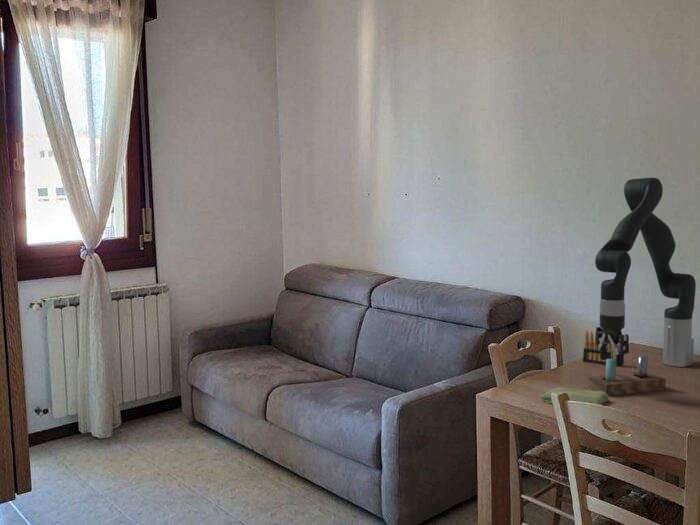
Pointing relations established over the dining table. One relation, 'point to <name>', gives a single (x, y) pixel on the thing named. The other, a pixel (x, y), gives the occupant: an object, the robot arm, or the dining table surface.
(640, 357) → the steel peg
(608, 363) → the teal peg
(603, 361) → the ammunition clip
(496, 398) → the dining table surface
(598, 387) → the hole block
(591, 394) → the washcloth
